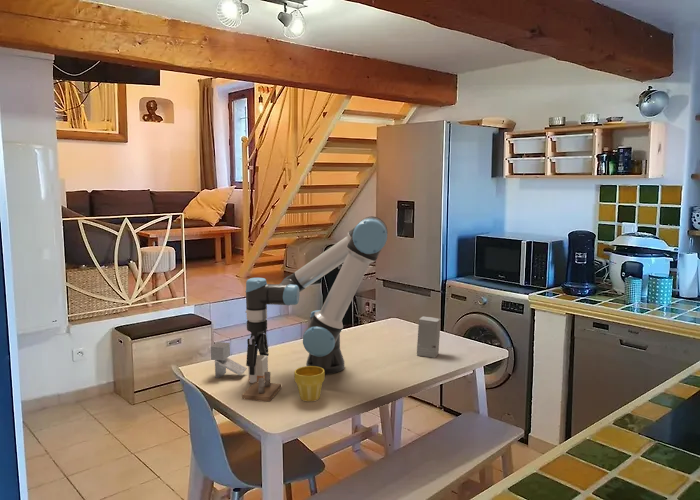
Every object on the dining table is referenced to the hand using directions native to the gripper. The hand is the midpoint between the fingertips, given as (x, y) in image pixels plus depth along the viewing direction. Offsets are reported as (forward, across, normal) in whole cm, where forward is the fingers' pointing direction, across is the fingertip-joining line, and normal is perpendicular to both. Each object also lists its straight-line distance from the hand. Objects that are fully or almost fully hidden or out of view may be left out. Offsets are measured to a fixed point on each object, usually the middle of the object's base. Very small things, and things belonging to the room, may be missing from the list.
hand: (258, 377), depth 210 cm
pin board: (0, +14, +7) cm, 15 cm away
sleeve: (0, 0, 0) cm, 0 cm away
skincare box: (0, -40, +61) cm, 73 cm away
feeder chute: (0, 0, -11) cm, 11 cm away
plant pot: (0, +14, +24) cm, 28 cm away
